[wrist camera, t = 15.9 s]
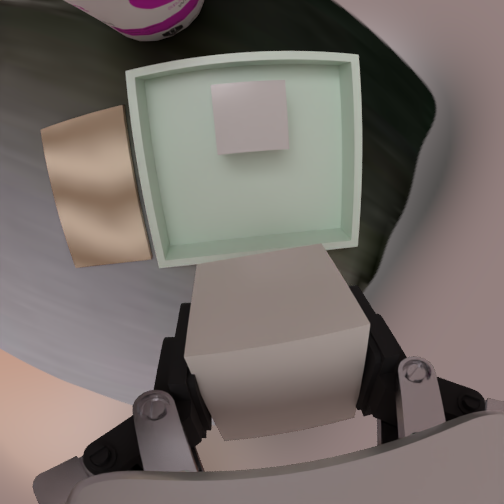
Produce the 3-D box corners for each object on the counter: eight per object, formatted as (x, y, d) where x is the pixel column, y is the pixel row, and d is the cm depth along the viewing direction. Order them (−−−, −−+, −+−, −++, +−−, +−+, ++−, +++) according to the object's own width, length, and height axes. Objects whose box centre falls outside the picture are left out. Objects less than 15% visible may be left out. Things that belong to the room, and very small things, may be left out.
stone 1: (213, 89, 22) (210, 85, 18) (273, 84, 22) (285, 79, 18) (218, 146, 25) (217, 155, 20) (277, 141, 25) (289, 149, 20)
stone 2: (197, 264, 12) (183, 356, 8) (321, 243, 12) (370, 324, 8) (222, 351, 14) (224, 440, 10) (323, 334, 14) (354, 417, 10)
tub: (137, 74, 21) (125, 71, 18) (342, 59, 22) (358, 54, 19) (165, 250, 29) (159, 268, 26) (344, 231, 30) (357, 246, 27)
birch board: (43, 129, 22) (40, 129, 22) (124, 104, 22) (122, 104, 22) (77, 265, 29) (75, 267, 29) (152, 256, 29) (151, 259, 29)
